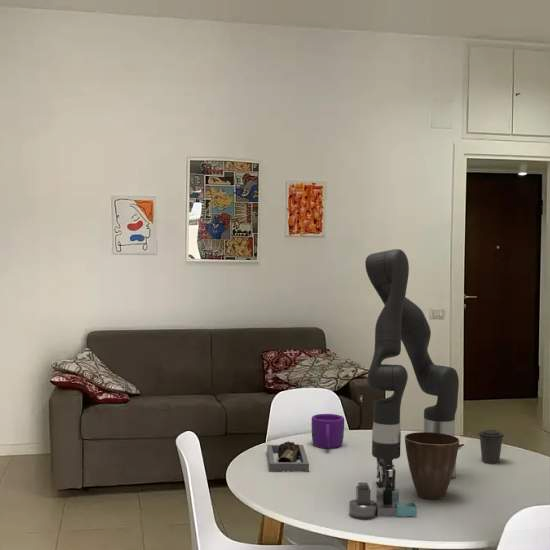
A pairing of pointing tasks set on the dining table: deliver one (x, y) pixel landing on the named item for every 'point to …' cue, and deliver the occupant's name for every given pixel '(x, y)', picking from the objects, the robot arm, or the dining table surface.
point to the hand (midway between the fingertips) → (385, 500)
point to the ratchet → (376, 506)
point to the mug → (327, 430)
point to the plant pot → (431, 462)
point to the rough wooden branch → (288, 452)
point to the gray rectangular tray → (287, 465)
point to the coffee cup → (490, 446)
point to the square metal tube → (378, 493)
